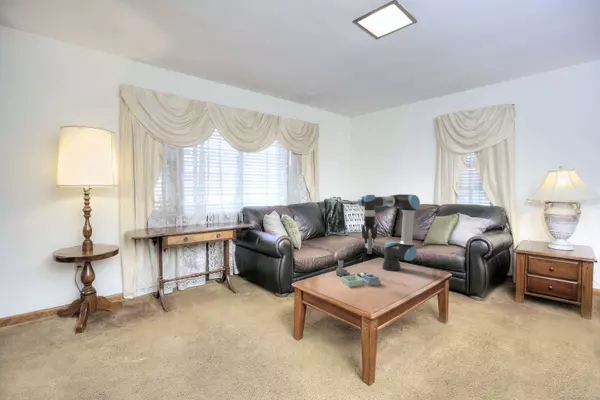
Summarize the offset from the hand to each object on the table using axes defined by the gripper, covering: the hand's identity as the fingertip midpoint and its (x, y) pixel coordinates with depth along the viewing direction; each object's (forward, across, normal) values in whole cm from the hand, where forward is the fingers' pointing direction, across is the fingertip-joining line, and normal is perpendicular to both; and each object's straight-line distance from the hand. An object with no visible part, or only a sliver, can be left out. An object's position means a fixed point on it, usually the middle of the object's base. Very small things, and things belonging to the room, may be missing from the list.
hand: (369, 247), depth 213 cm
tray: (+27, +12, -4) cm, 30 cm away
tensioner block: (+27, -1, -4) cm, 27 cm away
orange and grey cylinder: (+4, 0, 0) cm, 4 cm away
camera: (+27, +9, -22) cm, 36 cm away
